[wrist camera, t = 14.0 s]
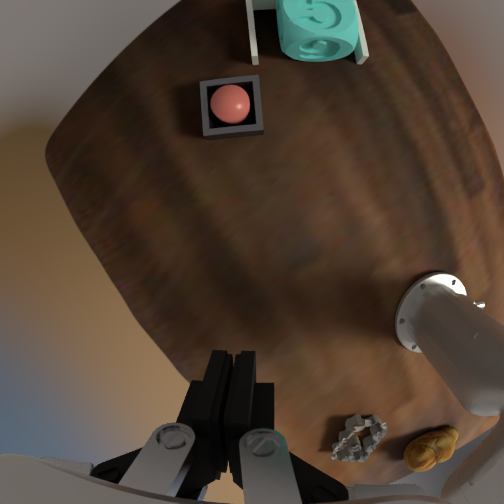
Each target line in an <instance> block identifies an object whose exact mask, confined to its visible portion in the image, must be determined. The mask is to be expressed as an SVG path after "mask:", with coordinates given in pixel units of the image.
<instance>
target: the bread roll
mask: <svg viewBox="0 0 504 504" xmlns="http://www.w3.org/2000/svg"><path fill="white" fill-rule="evenodd" d="M458 435H459V433H458V430H457V429H456V428H454V427H444V428H442V429H440V430H436V431H430V432H427V433H424V434H422V435H420V436H418V437H417V438H415V439H413V440H412V441H411V442H410V443H409V444H408V445H407V447H406V449H405V451H404V459H405V463H406V465H407V466H408V468H409V469H410V470H413V471H416V472H417V471H428V470H429V469H430V468H432V467H433V466H434V465H435V464H436V463H441V462H444V461H446V460H447V459H449V458H450V457H451V456H452V454H453V452H454V449H455V441H456V440H457V438H458Z"/></svg>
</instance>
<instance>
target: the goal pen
mask: <svg viewBox="0 0 504 504" xmlns="http://www.w3.org/2000/svg"><path fill="white" fill-rule="evenodd" d="M353 2H354V4H355V7H356V11H357V16H358V39H357V43H356V46H355V49H354V52H355V58H356V63H357V64H363V62H364V61H365V60H366V59H367V58H368V57H369V54H368V49H367V44H366V40H365V35H364V31H363V26H362V22H361V18H360V14H359V10H358V6H357V3H356V0H353ZM246 7H247V16H248V26H249V36H250V45H251V55H252V63H253V65H259V64H258V52H257V43H256V34H255V25H254V16H253V10H265V9H276V0H246Z"/></svg>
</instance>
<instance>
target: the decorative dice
mask: <svg viewBox="0 0 504 504" xmlns="http://www.w3.org/2000/svg"><path fill="white" fill-rule="evenodd" d="M276 13H277V25H278V34H279V41H280V46H281V50H282V52H284V53H285V54H286V55H288V56H289V57H291V58H293V59H296V60H301V61H309V62H321V61H331V60H336V59H340V58H343V57H345V56H347V55H349V54H350V53H351V52H352V51H353V50H354V49H355V46H356V43H357V39H358V16H357V11H356V7H355V4H354V2H353V0H276Z"/></svg>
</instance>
